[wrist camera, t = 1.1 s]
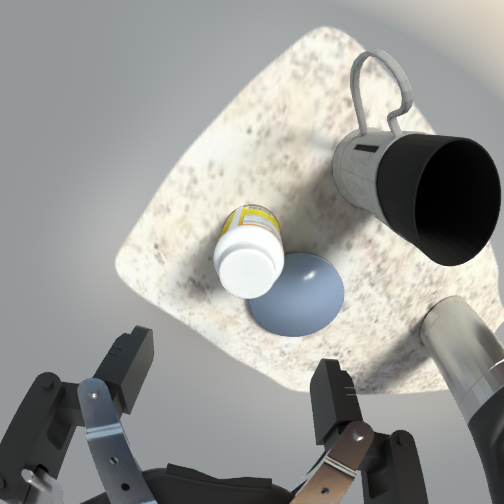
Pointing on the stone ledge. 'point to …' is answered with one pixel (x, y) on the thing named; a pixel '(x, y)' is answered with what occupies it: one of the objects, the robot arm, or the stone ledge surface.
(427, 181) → the tall grey black mug
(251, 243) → the supplement bottle
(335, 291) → the coaster
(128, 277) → the stone ledge surface
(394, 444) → the robot arm
